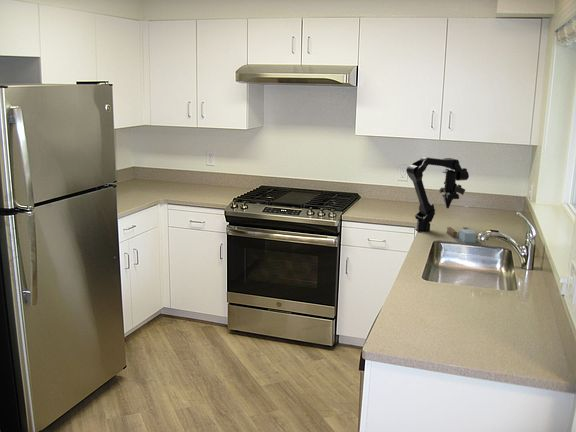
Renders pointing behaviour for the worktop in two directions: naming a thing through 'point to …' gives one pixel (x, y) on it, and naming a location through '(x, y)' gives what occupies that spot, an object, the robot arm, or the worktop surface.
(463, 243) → the pad
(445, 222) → the worktop surface
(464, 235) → the block
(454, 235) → the chute
